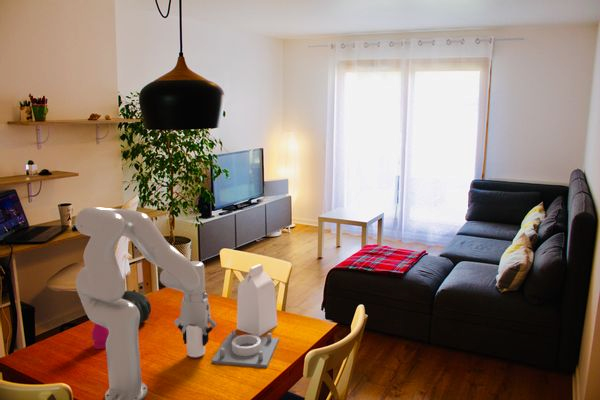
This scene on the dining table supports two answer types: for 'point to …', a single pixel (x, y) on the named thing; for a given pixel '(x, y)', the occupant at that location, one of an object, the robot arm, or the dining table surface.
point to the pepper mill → (100, 336)
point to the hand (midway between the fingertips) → (195, 342)
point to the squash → (139, 304)
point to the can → (194, 341)
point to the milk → (256, 303)
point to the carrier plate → (246, 359)
